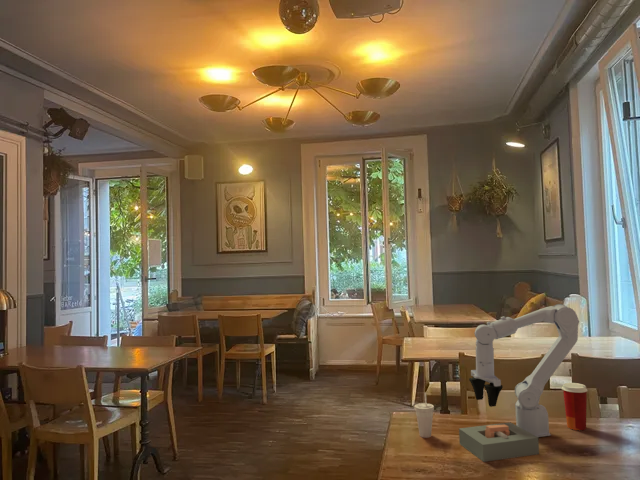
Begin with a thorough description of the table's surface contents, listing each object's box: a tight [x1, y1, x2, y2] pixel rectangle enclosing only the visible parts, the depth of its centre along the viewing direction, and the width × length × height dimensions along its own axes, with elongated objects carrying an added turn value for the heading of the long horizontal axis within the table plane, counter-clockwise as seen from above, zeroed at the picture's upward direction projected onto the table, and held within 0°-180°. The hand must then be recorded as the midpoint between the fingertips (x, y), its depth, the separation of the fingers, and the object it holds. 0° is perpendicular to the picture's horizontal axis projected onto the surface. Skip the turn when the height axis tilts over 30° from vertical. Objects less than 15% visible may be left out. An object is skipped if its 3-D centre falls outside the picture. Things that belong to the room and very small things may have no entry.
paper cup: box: [561, 382, 588, 432], centre depth 168 cm, size 8×8×14 cm
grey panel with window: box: [458, 421, 540, 463], centre depth 153 cm, size 18×14×6 cm
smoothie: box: [414, 392, 435, 439], centre depth 166 cm, size 6×6×14 cm
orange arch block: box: [485, 424, 510, 438], centre depth 153 cm, size 6×3×6 cm, turn 103°
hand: (485, 402), depth 167 cm, fingers open, 7 cm apart
